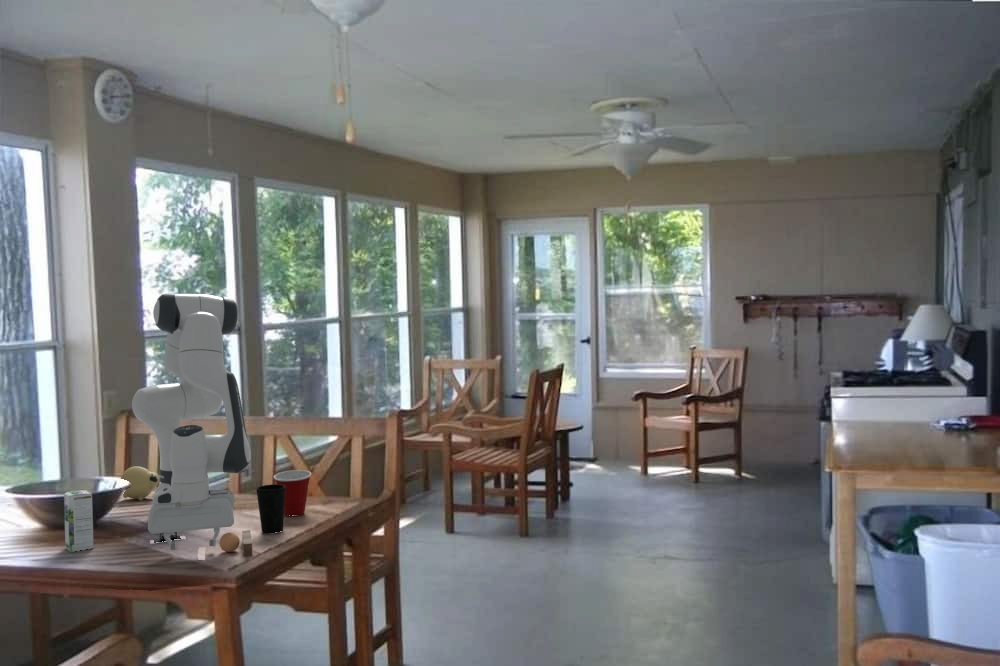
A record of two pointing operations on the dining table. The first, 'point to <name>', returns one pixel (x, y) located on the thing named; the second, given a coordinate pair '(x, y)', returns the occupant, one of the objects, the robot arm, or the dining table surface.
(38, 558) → the dining table surface
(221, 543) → the ball
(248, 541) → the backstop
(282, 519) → the cup
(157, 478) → the pale yellow round toy
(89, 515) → the syrup box
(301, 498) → the plastic cup
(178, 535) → the black rectangular container
